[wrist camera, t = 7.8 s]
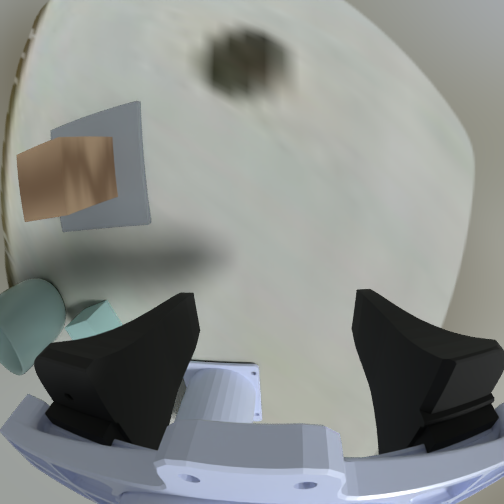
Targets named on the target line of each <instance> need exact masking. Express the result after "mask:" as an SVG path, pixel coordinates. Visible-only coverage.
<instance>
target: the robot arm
mask: <svg viewBox="0 0 504 504" xmlns="http://www.w3.org/2000/svg"><path fill="white" fill-rule="evenodd" d="M352 332H353V337H354V342H355V346H356V349H357V352H358V355H359V358H360V361H361V363H362V366H363V369H364V372H365V375H366V378H367V380H368V383H369V387H370V391H371V395H372V401H373V406H374V412H375V419H376V426H377V436H378V449H379V455H374V456H368V457H362V458H360V457H343V450H342V442H341V438H340V433H338V432H336V431H334V430H332V429H330V428H328V427H326V426H323V425H315V424H304V423H294V424H259V423H253V421H261V420H262V408H261V393H260V378H259V367H258V365H256V364H238V363H215V362H200V361H190V360H191V358H192V356H193V353H194V351H195V348H196V345H197V341H198V337H199V333H200V327H199V321H198V316H197V311H196V305H195V299H194V293H179V294H177V295H175V296H173V297H171V298H170V299H168V300H167V301H165V302H163V303H162V304H160V305H159V306H157V307H155V308H154V309H152V310H150V311H149V312H147V313H145V314H143V315H142V316H140V317H138V318H136V319H134V320H132V321H130V322H128V323H126V324H124V325H122V326H119V327H117V328H115V329H112V330H109V331H106V332H103V333H100V334H97V335H94V336H90V337H86V338H81V339H77V340H71V341H63V342H55V343H50V344H49V345H48V346H47V347H46V348H45V349H44V350H43V351H42V352H41V353H40V354H39V355H38V356H37V357H36V359H35V360H34V367H35V370H36V373H37V375H38V377H39V379H40V381H41V383H42V384H43V386H44V387H45V389H46V391H47V392H48V394H49V395H50V397H51V398H52V400H53V401H54V402H53V403H52V404H51V406H49V405H48V404H47V403H46V402H44V401H42V400H40V399H38V398H36V397H34V396H32V395H30V394H27V396H26V397H25V398H24V399H23V401H22V402H21V403H20V404H19V406H18V407H17V408H16V409H15V411H14V412H13V413H12V414H11V416H10V417H9V418H8V420H7V421H6V422H5V424H4V425H3V426H2V428H1V429H0V432H1V433H2V435H3V436H4V437H5V438H6V439H7V440H8V441H9V442H10V443H11V444H12V445H13V446H14V447H15V449H17V450H18V452H19V453H21V455H22V456H23V457H25V458H26V459H27V460H28V461H29V462H30V463H31V464H32V465H33V466H34V467H36V468H37V469H39V470H40V471H42V472H43V473H45V474H46V475H48V476H50V477H51V478H53V479H55V480H56V481H58V482H59V483H61V484H63V485H64V486H66V487H68V488H69V489H71V490H73V491H75V492H76V493H78V494H81V495H82V496H84V497H85V498H87V499H89V500H91V501H93V502H95V503H97V504H456V503H458V502H460V501H462V500H464V499H466V498H468V497H470V496H471V495H473V494H475V493H477V492H479V491H480V490H482V489H484V488H486V487H487V486H489V485H491V484H492V483H494V482H496V481H497V480H499V479H500V478H502V477H504V403H502V404H500V405H499V406H498V407H497V408H495V409H494V408H493V406H492V404H491V403H492V402H494V397H493V395H492V393H491V392H492V390H493V389H494V387H495V385H496V384H497V382H498V380H499V378H500V377H501V375H502V372H503V370H504V350H503V349H502V347H501V346H500V345H499V344H498V342H497V341H496V340H492V339H483V338H475V337H470V336H465V335H461V334H457V333H454V332H450V331H447V330H445V329H442V328H439V327H436V326H434V325H431V324H429V323H427V322H425V321H423V320H420V319H418V318H417V317H415V316H413V315H411V314H409V313H408V312H406V311H404V310H403V309H401V308H399V307H398V306H396V305H395V304H393V303H391V302H390V301H388V300H387V299H385V298H384V297H382V296H381V295H379V294H378V293H376V292H375V291H373V290H371V289H360V290H357V292H356V300H355V308H354V316H353V323H352ZM254 372H255V373H254ZM183 378H184V382H185V385H186V388H187V389H186V391H185V394H184V397H183V399H182V402H181V405H180V407H179V410H178V413H177V416H176V418H175V421H174V423H172V424H171V425H169V423H170V419H171V414H172V410H173V406H174V403H175V399H176V395H177V392H178V389H179V386H180V384H181V381H182V379H183Z"/></svg>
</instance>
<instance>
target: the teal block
mask: <svg viewBox="0 0 504 504" xmlns="http://www.w3.org/2000/svg"><path fill="white" fill-rule="evenodd" d="M119 326H122V323H121V321H120V320H119V318H118V317H117V315H116V314H115V312H114V310H113V309H112V307H111V306H110V304H109V302H108V301H107V300H106V301H103V302H101V303H98V304H96V305H93V306H91V307H88V308H85V309H84V310H83V311H82V312H81V313H80V314H79V315H78V316H76V317H75V318H74V319H73V320H72V321H71V322H70V323H69V324H68V325H67V326H66V327H65V329H66V331H67V332H68V334H69V335H70V337H71V338H72V340H77V339H81V338H86V337H90V336H94V335H97V334H100V333H103V332H106V331H109V330H112V329H115V328H117V327H119Z"/></svg>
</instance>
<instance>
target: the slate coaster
mask: <svg viewBox="0 0 504 504" xmlns="http://www.w3.org/2000/svg"><path fill="white" fill-rule="evenodd" d="M84 136H97V137H112V138H113V153H114V165H115V175H116V184H117V192H118V197H116V198H113V199H110V200H107V201H104V202H101V203H99V204H96V205H93V206H90V207H88V208H85V209H82V210H80V211H77V212H75V213H72V214H70V215H67V216H60V221H61V226H62V231H63V232H68V231H78V230H88V229H99V228H111V227H123V226H136V225H148V224H150V223H151V217H150V209H149V202H148V194H147V185H146V176H145V166H144V155H143V142H142V126H141V103H140V102H139V101H134V102H131V103H127V104H124V105H120V106H117V107H113V108H110V109H107V110H104V111H101V112H98V113H95V114H92V115H89V116H86V117H83V118H80V119H78V120H75V121H73V122H70V123H67V124H65V125H62V126H60V127H58V128H55V129H53V130H51V140H53V139H55V138H58V137H84Z"/></svg>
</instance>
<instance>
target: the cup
mask: <svg viewBox="0 0 504 504" xmlns="http://www.w3.org/2000/svg"><path fill="white" fill-rule="evenodd" d="M65 320H66V310H65V306H64V303H63V300H62V298H61V296H60V294H59V292H58V291H57V289H56V288H55V287H54V286H53V285H52V284H51V283H49V282H48V281H46V280H43V279H38V278H33V279H28V280H24V281H22V282H20V283H18V284H16V285H14V286H12V287H11V288H9V289H7V290H6V291H4V292H3V293H1V294H0V363H1V364H2V365H3V366H4V367H5V368H7V369H8V370H9V371H10V372H12V373H14V374H16V375H23V374H25V373H26V372H27V371H28V370H29V369H30V368H31V367H32V366H33V365H34V360H35V359H36V357H37V356H38V355H39V354H40V353H41V352H42V351H43V350H44V349H45V348H46V347H47V346H48V345H49V344H50V343H54V341H55V340H56V339H57V337H58V336H59V334H60V333H61V331H62V329H63V327H64V325H65Z"/></svg>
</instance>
